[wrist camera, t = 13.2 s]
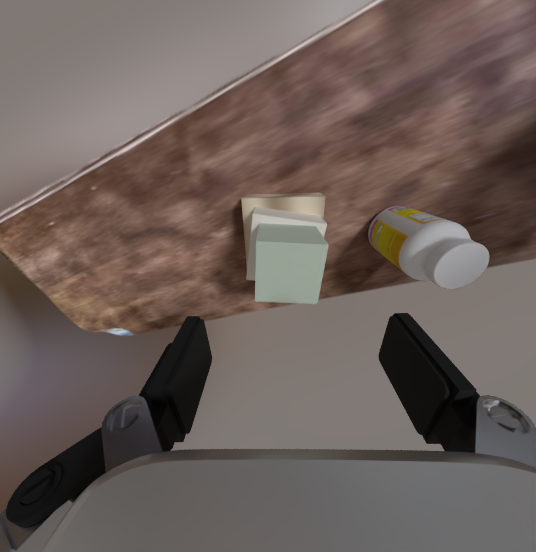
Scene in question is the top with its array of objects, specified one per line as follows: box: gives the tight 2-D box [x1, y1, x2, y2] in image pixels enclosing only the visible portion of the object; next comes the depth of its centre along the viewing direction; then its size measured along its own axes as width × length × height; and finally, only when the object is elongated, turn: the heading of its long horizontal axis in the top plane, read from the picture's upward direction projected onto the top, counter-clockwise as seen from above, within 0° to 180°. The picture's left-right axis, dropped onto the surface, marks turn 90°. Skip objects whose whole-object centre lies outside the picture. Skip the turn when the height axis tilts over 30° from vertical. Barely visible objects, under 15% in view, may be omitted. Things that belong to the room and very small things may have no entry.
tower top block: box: [246, 207, 327, 281], centre depth 26 cm, size 8×8×4 cm
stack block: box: [255, 223, 328, 304], centre depth 22 cm, size 6×6×6 cm
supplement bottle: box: [368, 206, 489, 289], centre depth 25 cm, size 7×7×13 cm
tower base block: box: [241, 193, 325, 267], centre depth 30 cm, size 10×10×4 cm
